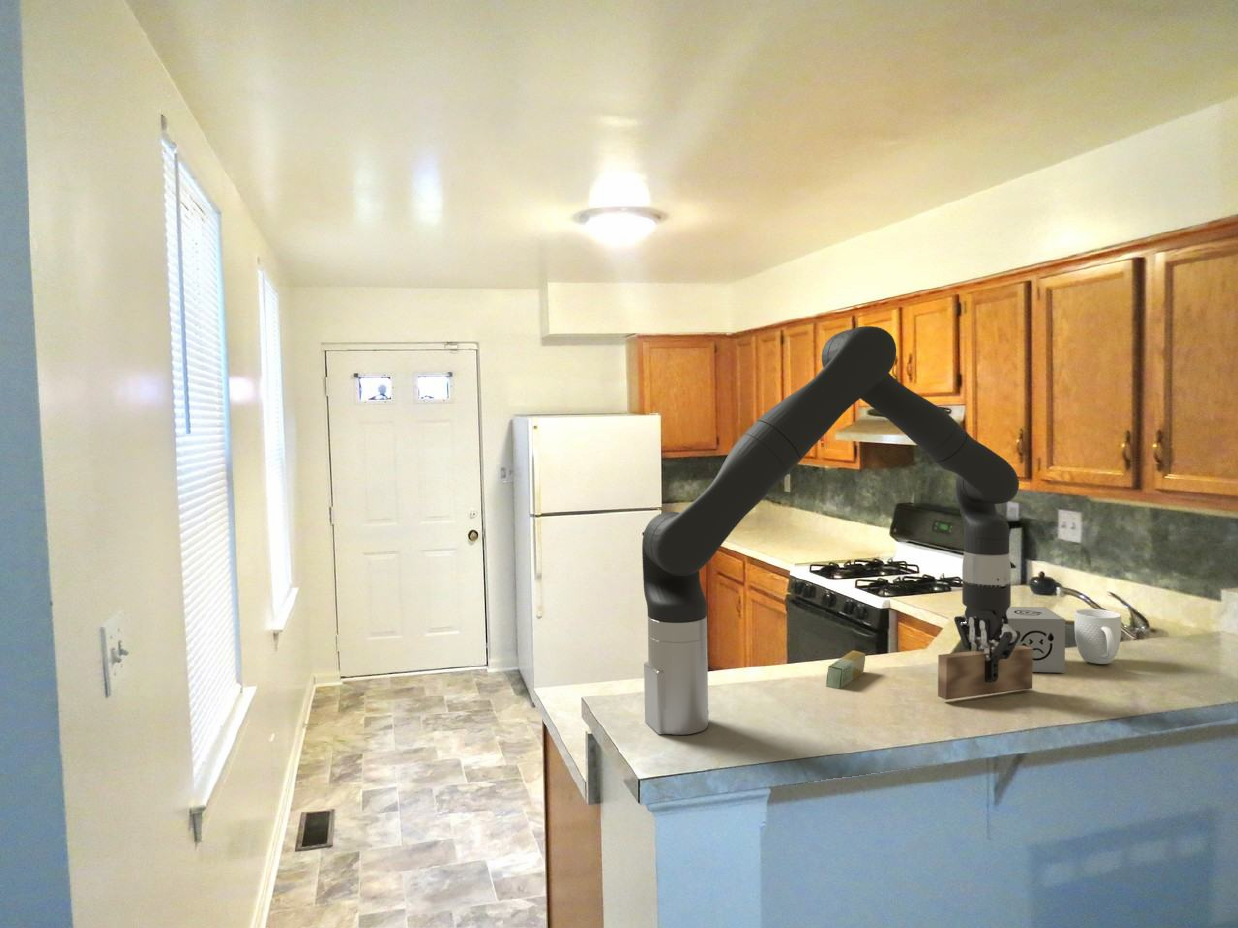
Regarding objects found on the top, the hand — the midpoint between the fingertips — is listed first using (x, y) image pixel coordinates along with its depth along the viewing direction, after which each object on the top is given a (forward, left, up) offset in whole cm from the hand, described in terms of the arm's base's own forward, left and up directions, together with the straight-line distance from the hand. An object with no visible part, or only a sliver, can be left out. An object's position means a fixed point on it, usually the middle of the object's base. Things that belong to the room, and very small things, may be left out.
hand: (985, 679), depth 144 cm
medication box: (-16, +17, -3) cm, 24 cm away
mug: (+34, +8, -3) cm, 35 cm away
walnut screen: (0, 0, -2) cm, 2 cm away
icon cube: (+21, +12, -3) cm, 25 cm away
